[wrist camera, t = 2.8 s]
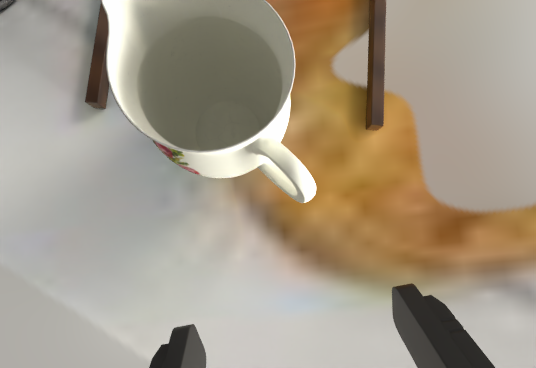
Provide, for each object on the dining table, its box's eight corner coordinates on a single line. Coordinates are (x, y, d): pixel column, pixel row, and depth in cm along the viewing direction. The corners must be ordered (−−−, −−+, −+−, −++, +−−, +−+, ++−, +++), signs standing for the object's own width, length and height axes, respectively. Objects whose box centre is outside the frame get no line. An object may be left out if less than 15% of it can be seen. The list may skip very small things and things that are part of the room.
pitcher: (256, 243, 28) (254, 267, 14) (133, 112, 29) (21, 17, 15) (336, 166, 29) (405, 119, 15) (214, 43, 30) (177, -102, 16)
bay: (377, 130, 30) (383, 125, 28) (93, 108, 29) (84, 101, 27) (382, -61, 32) (387, -74, 31) (123, -85, 32) (116, -100, 30)
